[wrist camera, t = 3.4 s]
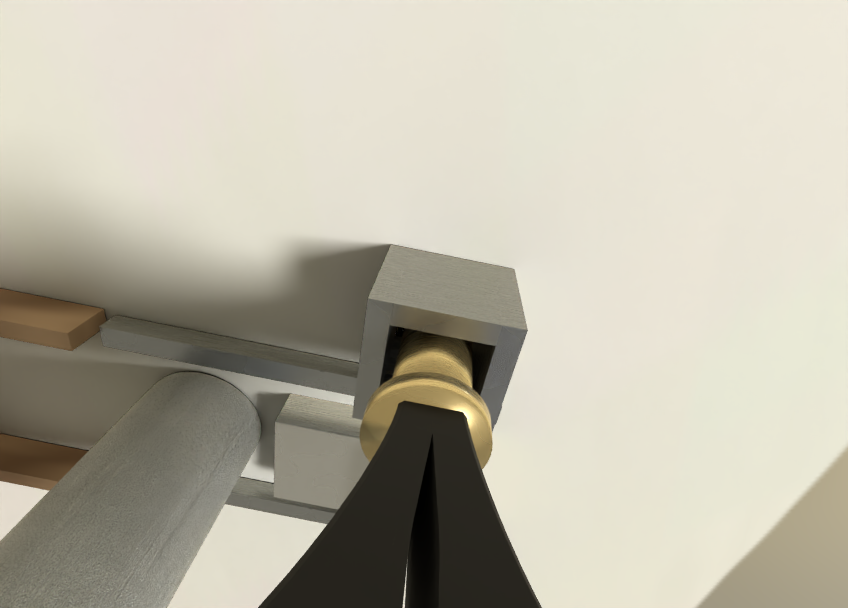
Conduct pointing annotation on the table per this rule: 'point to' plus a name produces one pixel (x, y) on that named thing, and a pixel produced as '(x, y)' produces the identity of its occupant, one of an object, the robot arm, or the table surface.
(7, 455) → the frame
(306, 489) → the grey notched block
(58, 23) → the table surface
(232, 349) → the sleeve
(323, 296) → the table surface
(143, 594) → the planter
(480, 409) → the brass knob
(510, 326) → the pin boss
